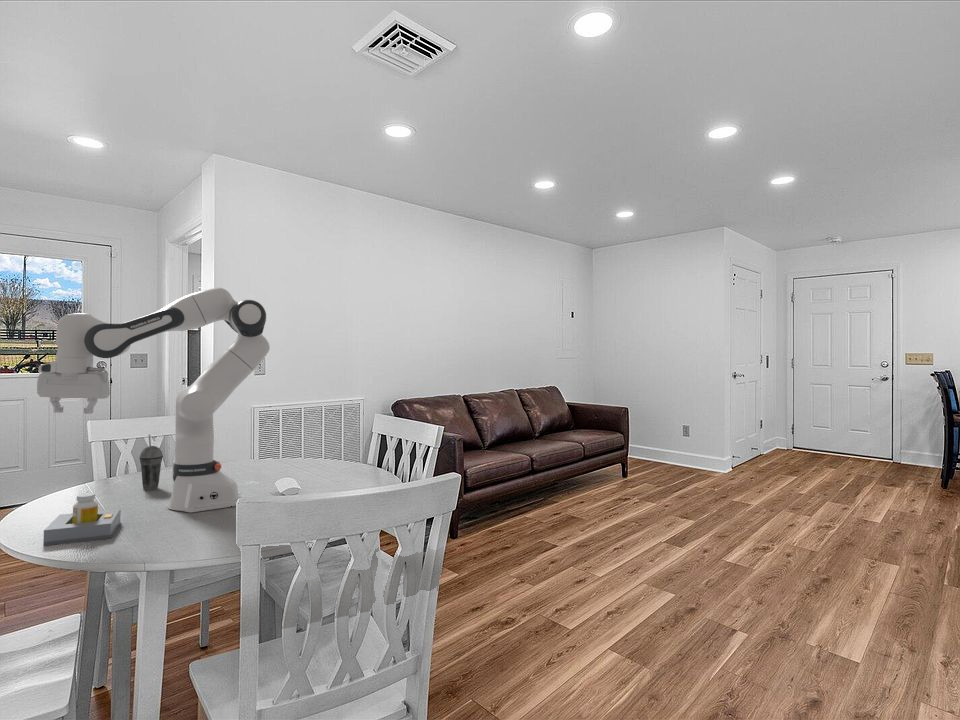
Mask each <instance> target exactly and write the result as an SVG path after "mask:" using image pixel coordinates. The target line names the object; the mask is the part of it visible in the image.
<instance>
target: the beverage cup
mask: <svg viewBox="0 0 960 720" xmlns="http://www.w3.org/2000/svg"><path fill="white" fill-rule="evenodd" d="M148 445H149V446H147V447H145V448H143V449H142V450H141V452H140V454H139V463H140V468H141V469H140V470H141V481H142V482H141V483H142V490H143V491H154V489H155V490H158V489H159V484H160V476H161V475H160V474H161V467H162V462H163V457H164V455H163V451H162V450H161V449H160V448H159V447H158V446H155V445H152V442H151V434H148ZM157 488H158V489H157Z"/></svg>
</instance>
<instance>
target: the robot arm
mask: <svg viewBox="0 0 960 720" xmlns="http://www.w3.org/2000/svg"><path fill="white" fill-rule="evenodd" d="M219 321H224V322H225V323H226V324H227V325H228V326H229V327H230V329H232V330H233V331H234V332H236V333H237V337H236V339H235V341H234V342H233V343H232V344H231V345H230V346H229V347H227V348H226V349H225V350H224V351H223V352H222V353H221V354H220V355H219V356H218V357H217V358H216V359H215V360H214V361H213V362H212V363H211V364H210V365H208V366H207V368H206V369H205V370H204V371H203V372H202V373H201V374H200V375H199V376H198V377H197V379H196V380H194V382H192V383H191V385H189V386H186V387H184V388H183V389H181V390H180V391H179V392H178V394H177V396H176V399H175V441H174V442H175V446H174V447H175V448H174V449H175V450H174V452H175V453H174V463H173V466H172V480H173V484H172V492H171V496H170V500H169V503H168V505H167V508H168V509H169V510H172V511H179V512H184V513H185V512H186V513H197V512H203V511H210V510H217V509H223V508H230V507H231V506H232V507H236V502H237V500H238V499H239V498H245V499H246V496H245V494H243V493H241V492H239V488H238V485H237V483H236V481H235V480H234V479H233V478H231V477H230V476H229V475H227V474H225V473H223V472H221V469H222V464H221V463H220V461H218V460H215V459H214V450H215V449H214V448H215V446H214V445H215V442H214V441H215V436H214V435H215V434H214V433H215V431H214V413H216V412H217V410H218V409H219V408H220V407H221V406H222V405H223V403H224V402H225V401H226V400H227V399H228V398H229V397H230V396H231V395H232V393H233V392H234V391H235V390H236V389H237V388H238V387H239V386H240V385H241V383H243V382H244V380H246V379H247V378H248V377H249V376H250V374H252V373H253V371H254V370H255V369H257V368H258V366H259V365H260V364H261V362H263V360H264V359H265V358H266V356H267V355H268V353H269V352H270V346H271V345H270V342H269V341H268V340H267V338H266V337H265V336H264V335H263V332H264V330H265V329H264V328H265V325H266V321H267V311H266V310H265V308H264V307H263V305H262V304H261V303H260V302H258V301H256V300H253V299H243V300H241V301H236V300H235V299H234V298H233V295H232V294H231V293H230V292H229V290H226V289H225V288H222V287H214V288H209V289H204V290H200V291H196V292H192V293H190V294H188V295H184V296H182V297H181V298H177V299H176V300H173V302H170V303H169V304H167V305H165V306H164V307H162V308H160V309H158V310H157V311H155V312H152V313H150V314H147V315H144V316H141V317H138V318H135V319H131V320H128V321H126V322H122V323H108V322H106V321H103V320H101V319H98V318H96V317H95V316H93V314H91V313H86V312H82V313H81V312H79V313H77V312H76V313H69V314H65V315H63V316H61V317H60V318H59V320H58V322H57V326H56V327H57V328H56V333H55V334H56V335H55V336H56V337H55V344H56V346H57V350H56V351H57V352H56V354H55V360H52V361H50V362H45V363H43V364H40V365H39V366H38V373H39V375H38V376H37V381H36V391H37V393H36V394H37V395H38V396H39V398H49V402H50V403H51V405H52V407H53V413H55V414H56V413H57V414H60V413H63V412H64V406H62V405H61V403H60V401H62V400H61V398H62V399H63V398H64V399H65V398H66V399H87V400H86V401H87V403H88V404H87V406H86V407H83V414H89V415H90V414H93V413H94V407H96V405H97V403H98V400H101V399H108V398H109V396H110V393H111V390H110V389H111V387H110V381H109V373H108V371H107V370H106V369H104V368H103V367H94V357H98V358H101V359H111V358H114V357H118V356H121V355H124V354H126V352H127V351H128V350H129V349H130V347H131V345H132V344H135V343H136V342H139V341H142V340H144V339H148V338H150V337H153V336H156V335H159V334H162V333H167V332H174V331H175V332H178V331H179V332H185V331H190V330H195V329H198V328H199V329H200V328H202V327H206V326H208V325H210V324H213V323H215V322H219Z"/></svg>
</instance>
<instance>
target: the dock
mask: <svg viewBox="0 0 960 720" xmlns="http://www.w3.org/2000/svg"><path fill="white" fill-rule="evenodd" d="M121 509H122V508H115V509H106V510H104V509H103V510H98V514H97V521H94V522H84V523H74V524H72V522H73V512H72V513H63V514H59V515H58V516H56V518H55V519H54V520H53V521H51V523H49V525H47V527H45V528H44V529H43V546H44V547H45V546H46V547H47V546H55V545H63V544H65V545H66V544H73V543H82V542H91V541H98V540H99V541H100V540H110V539H112V537H113V535H114V534H115V532H116V530H117V529H118V528H119V526H120V524H121V514H122V513H121V512H122V511H121Z"/></svg>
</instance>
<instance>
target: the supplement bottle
mask: <svg viewBox="0 0 960 720" xmlns="http://www.w3.org/2000/svg"><path fill="white" fill-rule="evenodd" d="M95 499H96V492H95V493H94V492H86V493H80V494H77V495H76V501H77V502H75V503H74V504H73V507H72V513H73V522H72V524H74V523H84V522H94V521H97V514H98V511H99V508H98V507H99V503H98V502H97V500H95Z"/></svg>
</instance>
